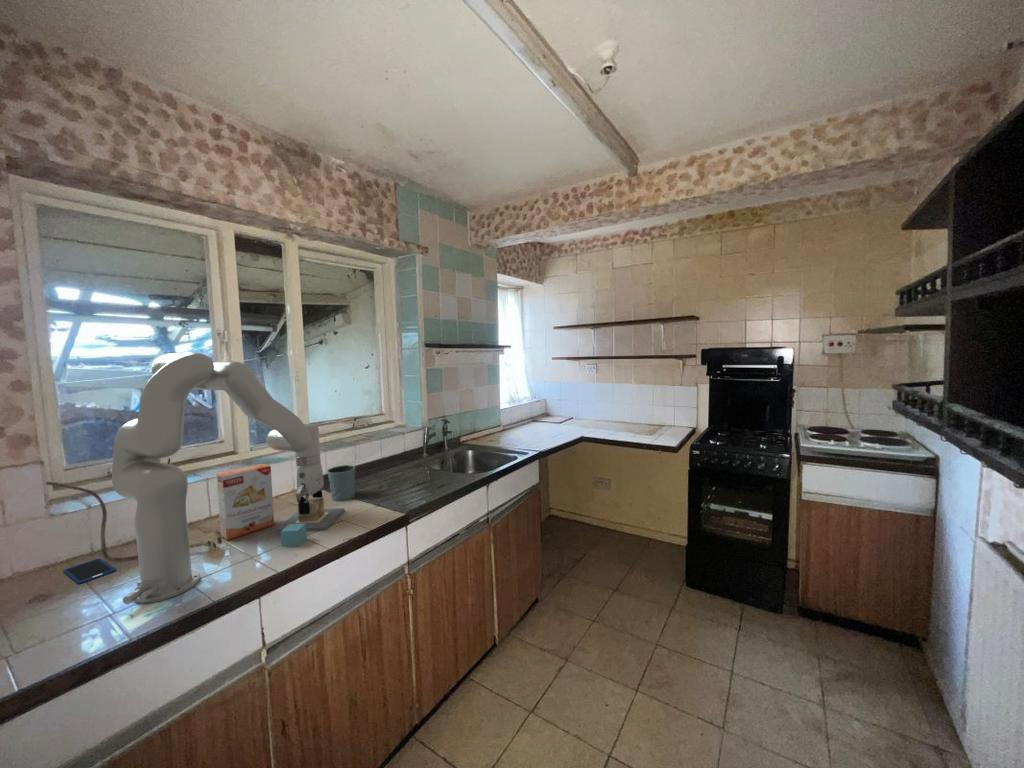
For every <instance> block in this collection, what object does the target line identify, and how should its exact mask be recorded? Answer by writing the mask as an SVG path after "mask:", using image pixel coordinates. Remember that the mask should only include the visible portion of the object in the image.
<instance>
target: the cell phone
mask: <svg viewBox="0 0 1024 768" xmlns="http://www.w3.org/2000/svg"><path fill="white" fill-rule="evenodd" d="M117 570H118V569H116V568H115V567H114V566H113V565H111V564H109V563H108V562H107V561H105V560H104V559H102V558H94V559H92V560H89V561H85V562H83V563H80V564H77V565H74V566H70V567H68V568H65V569H63V571H62V572H63V574H64V575H66V576H67V577H68V578H70V579H71V580H72V581H73V582H75V583H76V584H77V585H82V584H85V583H88V582H90V581H93V580H96V579H99V578H101V577H105V576H107V575H111V574H113V573H115V572H117Z"/></svg>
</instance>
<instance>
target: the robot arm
mask: <svg viewBox="0 0 1024 768" xmlns="http://www.w3.org/2000/svg"><path fill="white" fill-rule="evenodd" d="M151 373H152V376H151V377H150V378H149V379H148V380H147V382H146V383H145V385H144V387H143V389H142V391H141V393H140V398H139V405H138V414H137V418H134V419H131V420H128V421H127V422H126V423H124V424H123V425H121V427H120V428H119V429H118V431H117V433H116V435H115V437H114V440H113V448H112V452H113V453H112V464H111V465H112V467H111V468H112V469H111V470H112V471H111V481H112V483H111V484H112V487H113V490H114V491H115V492H116V493H117V494H118V495H119V496H121V497H123V498H126V499H128V500H132V501H136V503H137V504H136V510H135V515H134V532H135V538H136V539H135V540H136V549H137V559H138V569H139V578H140V579H139V580H138V581H137V582H136V585H137V587H136V588H135V589H134V590H133V591H132V592H130V593H128V594H127V595H125V596H124V597H123V598H122V603H123V604H124V605H129V604H131V603H133V602H135V603H139V604H140V603H141V604H147V603H149V604H150V603H156V602H160V601H164V600H167V599H170V598H173V597H176V596H178V595H180V594H183V593H185V592H186V591H188V590H190V589H191V588H193V587H194V586H196V584H198V583H199V581H200V578H201V574H200V572H199V571H197V570H195V569H192V563H191V562H192V561H191V560H192V559H191V552H190V551H191V550H190V549H191V548H190V539H189V528H188V518H187V495H188V488H189V487H188V485H189V484H188V483H189V482H188V478H187V475H186V472H184V471H183V470H182V469H181V468H179V467H178V466H176V465H174V464H170V463H166V462H161V459H163V458H168V457H171V456H174V455H175V454H176V453H178V452H179V451H180V449H181V448H182V446H183V442H184V427H185V424H184V423H185V411H186V409H185V408H186V404H187V403H186V402H187V400H188V398H189V395H190V394H191V392H192V391H194V389H197V390H199V389H200V390H209V391H224V392H225V393H226V394H227V395H228V396H229V398H230V399H231V400H232V401H233V402H234V403H235V404H236V405H237V406H238V408H239V409H240V410H241V411H242V412H243V414H244V415H245V416H246V417H248V418H250V419H252V420H254V421H255V422H259V423H260V424H264V425H266V426H268V427H270V428H271V430H270V431H269V432H268V434H267V436H266V440H265V441H266V445H267V446H268V447H269V448H270V449H272V450H274V451H275V450H276V451H281V452H291V453H294V454H295V466H296V470H297V471H296V489H297V490H296V492H295V497H296V501H297V504H299V514H309V513H310V509H309V502H308V499H309V498H310V496H312V498H320V497H323V487H324V485H325V482H324V474H323V467H322V462H321V459H322V458H321V445H320V430H319V426H318V425H317V424H316V423H304V422H303V421H302V420H301V419H300V417H299V416H297V415H296V413H294V412H293V411H291V410H290V409H288V408H287V407H285V406H284V405H283V404H282V403H280V402H279V401H278V400H276V399H274V398H273V396H272V395H271V394H270V393H269V391H268V390H267V389H266V387H265V386H264V385H263V384H262V383H261V382H260V380H259V379H258V378H257V376H256V375H255V374H254V372H253V371H252V370H251V369H250V368H249V366H248V365H246V364H245V363H243V362H240V361H233V360H232V361H227V360H226V361H214V360H213V359H212V358H210V356H208V355H206V354H204V353H200V352H175V353H174V352H173V353H172V352H171V353H165V354H163V355H160V356H158V357H157V358H156V359H155V360H154V361H153V362H152V364H151Z"/></svg>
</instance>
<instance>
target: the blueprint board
mask: <svg viewBox="0 0 1024 768" xmlns="http://www.w3.org/2000/svg"><path fill="white" fill-rule="evenodd" d="M344 512H345V508H344V507H342V508H338V507H337V508H324V513H325V514H324V515H323V516H322V517H321V518H319V519H318V520H317V521H302V522H299V516H298V511H297V512H296V513H294V514H293V515H292V516H291V517H289V518H288V519H287V520H285V521H284V522H283V523H282V524H281V525H280V526H278V527H277V528H275V533H281V531H282V530H283V529H284V528H285V527H287V526H288V525H289V524H306V532H313V531H315V532H316V531H318V532H319V531H326V530H327V529H329V527H331V525H333V524H334V523H335V522H336V521H337V519H338V518H339V517H340V516H342V514H343V513H344Z"/></svg>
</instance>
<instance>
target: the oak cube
mask: <svg viewBox="0 0 1024 768" xmlns="http://www.w3.org/2000/svg"><path fill="white" fill-rule="evenodd" d="M308 502H309V509H310V513H309V514H299V503H297V512H298V516H299V522H302V521H317V520H318V519H319V518H321V517H322V516H323V515H324V514H325V513H324V509H325V501H324V497H323V496H322V497H320V498H313V497H309V499H308Z"/></svg>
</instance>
